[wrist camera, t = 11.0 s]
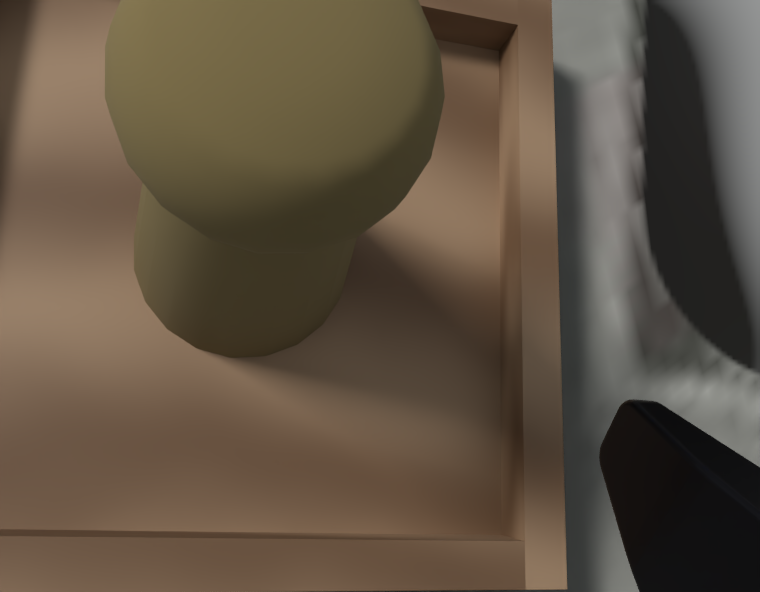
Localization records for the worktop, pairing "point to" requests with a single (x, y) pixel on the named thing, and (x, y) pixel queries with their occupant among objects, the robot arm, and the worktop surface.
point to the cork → (265, 152)
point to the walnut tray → (284, 353)
